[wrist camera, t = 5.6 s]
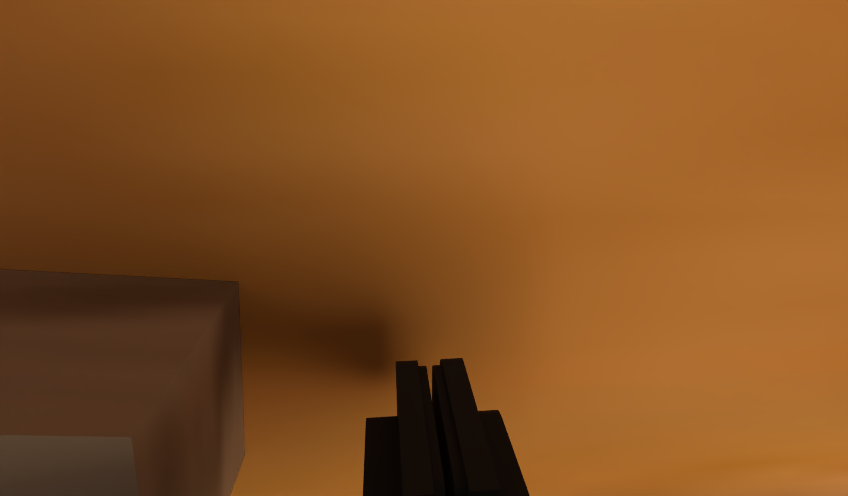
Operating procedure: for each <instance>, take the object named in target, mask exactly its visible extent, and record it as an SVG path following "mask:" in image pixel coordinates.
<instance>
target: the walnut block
mask: <svg viewBox="0 0 848 496" xmlns="http://www.w3.org/2000/svg"><path fill="white" fill-rule="evenodd" d="M244 456H245V440H244V414H243V388H242V363H241V337H240V311H239V285H238V282H236V281H217V280H198V279H179V278H160V277H141V276H122V275H103V274H84V273H65V272H46V271H27V270H8V269H0V496H230V495H231V492H232V489H233V486H234V483H235V481H236V478H237V475H238V472H239V469H240V467H241V464H242V461H243V458H244Z"/></svg>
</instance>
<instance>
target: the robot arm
mask: <svg viewBox="0 0 848 496" xmlns="http://www.w3.org/2000/svg"><path fill="white" fill-rule="evenodd" d="M396 388H397V416H392V417H376V418H366V433H365V458H364V482H363V496H529V493H528V490H527V487H526V484H525V481H524V479H523V476H522V473H521V470H520V467H519V465H518V462H517V459H516V456H515V453H514V450H513V448H512V445H511V442H510V439H509V436H508V433H507V431H506V428H505V425H504V422H503V419H502V417H501V414H500V412H499V411H498V410H489V411H478V410H477V406H476V403H475V399H474V396H473V392H472V389H471V385H470V382H469V379H468V375H467V372H466V368H465V365H464V361H463V359H462V358H455V359H441V360H440V365H433V366H432V400H431V393H430V387H429V381H428V374H427V368H426V366H418V362H417V360H416V361H397V362H396Z"/></svg>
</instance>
